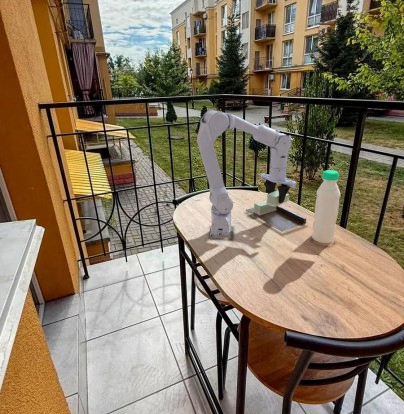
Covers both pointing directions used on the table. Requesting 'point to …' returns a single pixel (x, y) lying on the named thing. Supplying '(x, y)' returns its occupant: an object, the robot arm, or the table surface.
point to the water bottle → (326, 208)
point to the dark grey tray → (281, 218)
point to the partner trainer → (263, 208)
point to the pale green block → (275, 199)
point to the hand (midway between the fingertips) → (276, 200)
